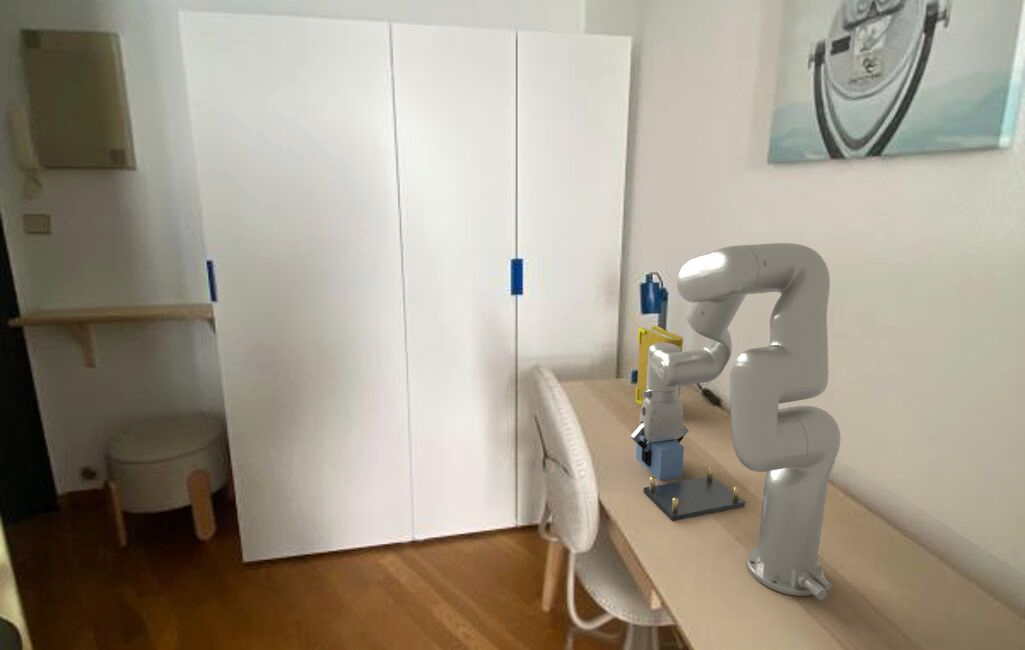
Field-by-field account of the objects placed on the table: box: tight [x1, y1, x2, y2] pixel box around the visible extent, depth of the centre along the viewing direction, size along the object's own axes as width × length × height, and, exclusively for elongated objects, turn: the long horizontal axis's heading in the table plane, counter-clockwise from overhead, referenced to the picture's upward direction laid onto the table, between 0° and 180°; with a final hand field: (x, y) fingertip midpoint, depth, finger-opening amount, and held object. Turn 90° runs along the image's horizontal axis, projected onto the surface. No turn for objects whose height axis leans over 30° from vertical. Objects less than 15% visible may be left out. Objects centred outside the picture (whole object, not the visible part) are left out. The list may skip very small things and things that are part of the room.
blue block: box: [635, 436, 685, 482], centre depth 137 cm, size 12×6×8 cm, turn 15°
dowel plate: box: [643, 466, 746, 522], centre depth 123 cm, size 12×18×4 cm, turn 106°
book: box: [634, 326, 684, 406], centre depth 171 cm, size 17×7×25 cm, turn 17°
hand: (658, 461), depth 137 cm, fingers closed on blue block, 6 cm apart
